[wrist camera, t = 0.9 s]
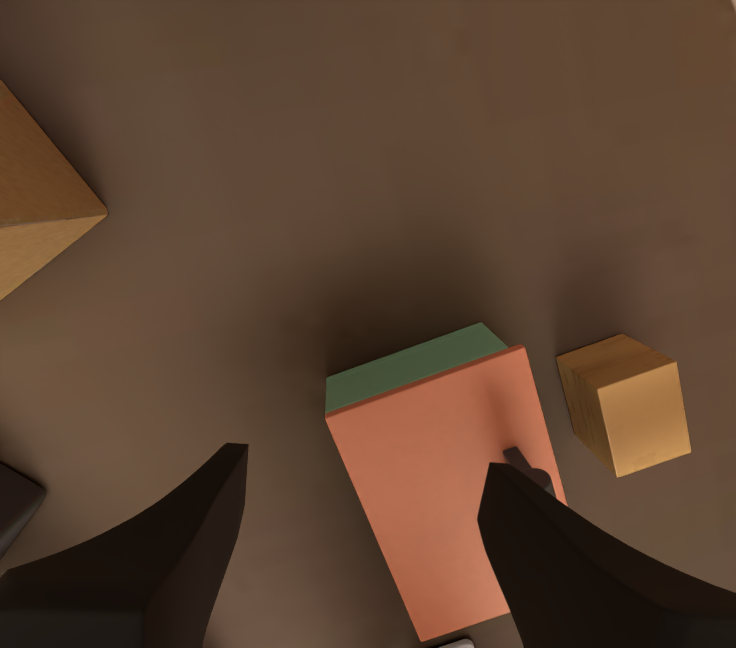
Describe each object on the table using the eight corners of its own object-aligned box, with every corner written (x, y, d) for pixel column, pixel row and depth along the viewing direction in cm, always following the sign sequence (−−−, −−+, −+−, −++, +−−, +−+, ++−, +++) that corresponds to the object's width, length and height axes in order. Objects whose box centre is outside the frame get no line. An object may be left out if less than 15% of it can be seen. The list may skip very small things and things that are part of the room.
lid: (520, 342, 20) (562, 378, 16) (584, 577, 23) (628, 647, 20) (324, 412, 20) (322, 462, 16) (419, 633, 24) (434, 712, 20)
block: (638, 412, 25) (692, 452, 22) (574, 434, 25) (616, 478, 22) (622, 333, 24) (677, 361, 20) (555, 356, 24) (596, 389, 20)
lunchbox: (481, 321, 23) (508, 346, 20) (541, 527, 27) (574, 580, 23) (326, 377, 23) (324, 412, 20) (407, 573, 27) (419, 632, 24)
